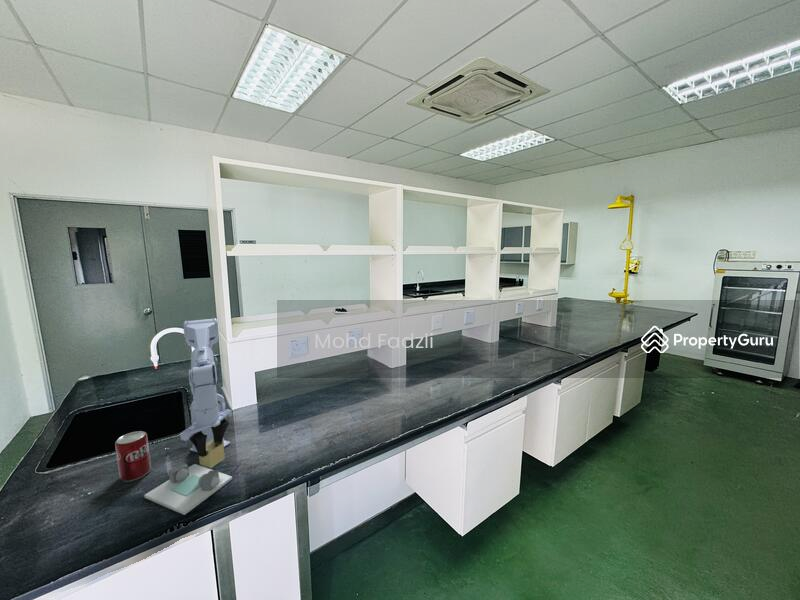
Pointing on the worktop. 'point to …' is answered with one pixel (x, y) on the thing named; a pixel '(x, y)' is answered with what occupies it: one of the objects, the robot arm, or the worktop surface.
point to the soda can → (133, 456)
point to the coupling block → (213, 454)
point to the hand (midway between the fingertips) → (210, 450)
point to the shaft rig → (187, 487)
